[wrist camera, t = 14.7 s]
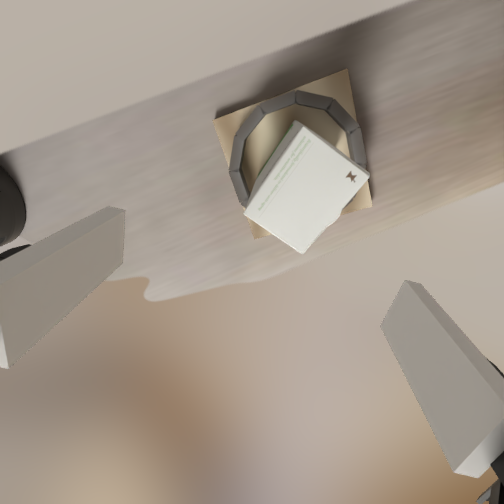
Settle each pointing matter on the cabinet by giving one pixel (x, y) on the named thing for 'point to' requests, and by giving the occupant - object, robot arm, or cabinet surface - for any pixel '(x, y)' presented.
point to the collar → (276, 125)
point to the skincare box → (303, 187)
